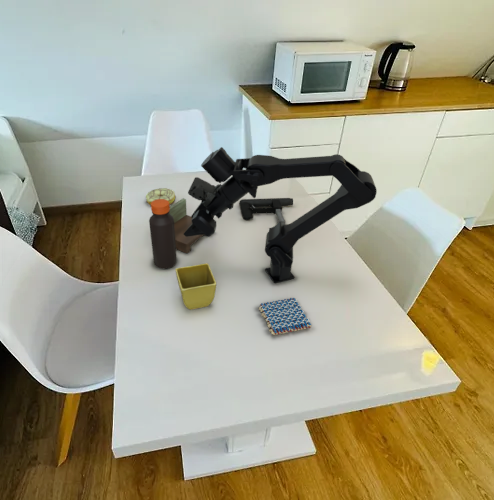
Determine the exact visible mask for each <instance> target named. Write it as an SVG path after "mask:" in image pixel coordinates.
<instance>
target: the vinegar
mask: <svg viewBox="0 0 494 500" xmlns="http://www.w3.org/2000/svg"><path fill="white" fill-rule="evenodd" d="M170 206H171V205H169V201H167V200H165V199H157V200H154V201H152V202H151V205H150V210H151V214H152V215H151V216H150V217H149V219H148V223H149V231H150V241H151V250H152V258H153V259H152V260H153V264H154V266H155V267H156V268H158V269H161V270H166V269H167V270H168V269H171V268H173V267H174V266H176V265H177V261H178V258H177V249H176V242H175V228H174V218H173V216H172V215H171V214H169V212H170Z"/></svg>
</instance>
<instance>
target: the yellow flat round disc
mask: <svg viewBox="0 0 494 500" xmlns="http://www.w3.org/2000/svg"><path fill="white" fill-rule="evenodd" d="M145 198H146V202H147V204H148V205H149V206H151V202H152V201H154V200H157V199H165V200H167V201H169V206H171V205H173V204H174V201H175V199H176V193H175V191H174V190H173V189H170V188H167V187H163V188H162V187H160V188H155V189H151V190H150V191H148V192H147V194H145Z"/></svg>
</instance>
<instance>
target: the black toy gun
mask: <svg viewBox="0 0 494 500" xmlns="http://www.w3.org/2000/svg"><path fill="white" fill-rule="evenodd" d="M238 205H239V208H240V212H241V217H242V219H243V220H245V221H250V220H251V221H252V219H253V218H254V215H261V214H273V215H275V216H276V219H277V223H279V222H281V223H282V224H283V225H286V224H285V223H286V220H285V217H284V215H283V212H282V211H283V207H290V206H293V205H294V198H291V197H275V198H273V197H272V198H271V197H270V198H241V199H239V202H238Z"/></svg>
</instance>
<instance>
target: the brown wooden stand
mask: <svg viewBox="0 0 494 500" xmlns="http://www.w3.org/2000/svg"><path fill="white" fill-rule="evenodd" d="M169 206H170V212H169V214H171V215H172V216H173V218H174V228H175V242H176V251H180V252H182V253H184V254H189V253H190V252H191V251H192V245H194V243H196V242H197V241H198V240H200V239H201V238H202V237H203V236H204V235H195V236H188V237H186V236H185V235H184V232H185V231H186V230H187V229H188V227H189V226H190V225H191V224H192V221H191V220H192V217H191V216H192V215H188V214H187V199H186V198H184V197H183V198H181V199H180V200H178V201H176V202H175V203H172V204H171V205H169Z"/></svg>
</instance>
